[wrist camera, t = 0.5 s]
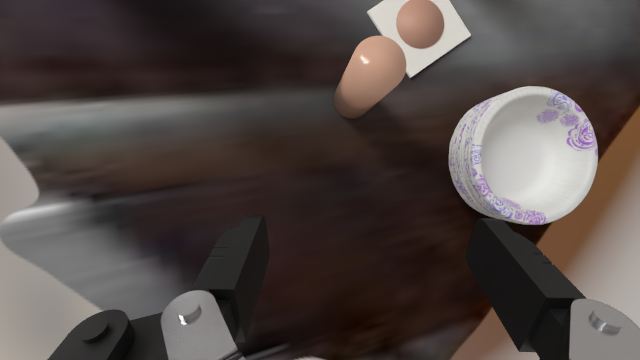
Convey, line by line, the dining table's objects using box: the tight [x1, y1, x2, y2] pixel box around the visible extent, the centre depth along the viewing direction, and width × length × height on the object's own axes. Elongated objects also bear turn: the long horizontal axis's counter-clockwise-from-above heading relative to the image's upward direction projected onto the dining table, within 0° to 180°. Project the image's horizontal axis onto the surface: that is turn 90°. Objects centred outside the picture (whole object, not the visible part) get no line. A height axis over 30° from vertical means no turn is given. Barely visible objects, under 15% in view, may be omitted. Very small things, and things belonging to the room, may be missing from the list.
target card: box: [367, 0, 471, 78], centre depth 37 cm, size 10×10×1 cm
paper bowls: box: [449, 86, 598, 225], centre depth 34 cm, size 15×15×8 cm
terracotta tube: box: [333, 36, 406, 119], centre depth 30 cm, size 5×5×12 cm
